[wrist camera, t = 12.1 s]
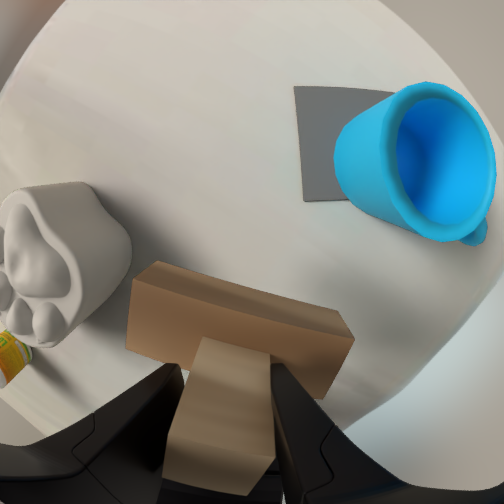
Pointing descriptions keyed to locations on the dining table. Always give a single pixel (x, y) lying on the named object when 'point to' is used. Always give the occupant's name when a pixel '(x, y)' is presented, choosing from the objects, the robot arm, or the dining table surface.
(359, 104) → the charcoal mat
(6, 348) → the supplement bottle
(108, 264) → the lumpy-topped squat cylinder
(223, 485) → the wooden t-shaped block
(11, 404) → the dining table surface
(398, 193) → the mug
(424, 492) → the robot arm
